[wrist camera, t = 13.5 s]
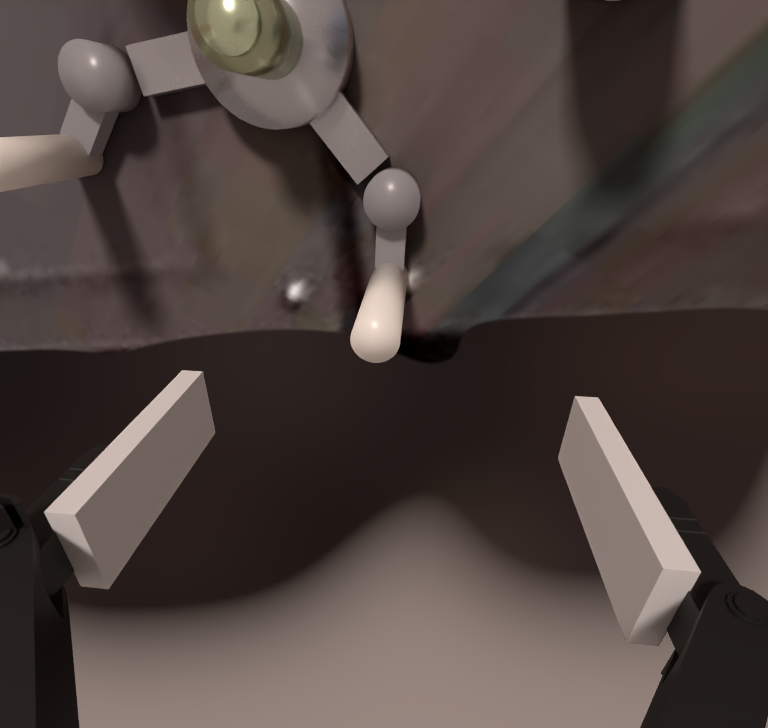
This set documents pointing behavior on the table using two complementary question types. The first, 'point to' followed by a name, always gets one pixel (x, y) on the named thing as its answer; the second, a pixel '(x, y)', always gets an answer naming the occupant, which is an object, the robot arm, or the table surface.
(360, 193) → the table surface
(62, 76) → the knob
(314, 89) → the levelling base
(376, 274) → the knob
